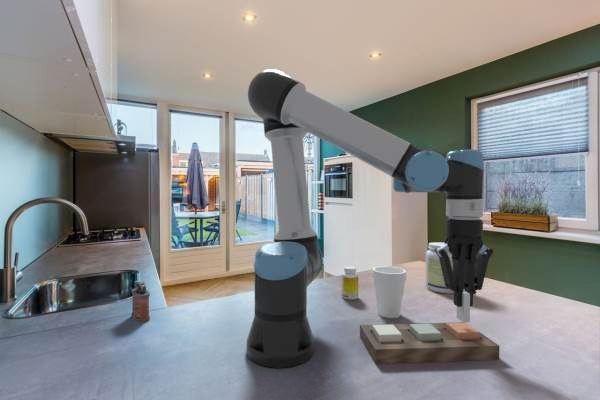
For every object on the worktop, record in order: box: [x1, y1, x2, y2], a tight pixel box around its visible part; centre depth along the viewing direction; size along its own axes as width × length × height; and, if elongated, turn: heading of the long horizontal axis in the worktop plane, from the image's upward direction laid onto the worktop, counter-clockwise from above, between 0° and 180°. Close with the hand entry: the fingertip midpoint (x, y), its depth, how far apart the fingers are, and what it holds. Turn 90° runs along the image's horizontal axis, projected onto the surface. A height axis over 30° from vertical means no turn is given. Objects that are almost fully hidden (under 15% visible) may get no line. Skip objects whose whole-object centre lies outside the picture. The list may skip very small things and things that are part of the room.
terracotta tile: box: [445, 322, 481, 340], centre depth 71 cm, size 5×5×2 cm
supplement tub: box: [425, 241, 454, 295], centre depth 114 cm, size 12×12×17 cm
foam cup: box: [372, 265, 407, 319], centre depth 90 cm, size 10×9×13 cm
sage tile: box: [409, 323, 441, 341], centre depth 70 cm, size 5×5×2 cm
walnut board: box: [359, 321, 500, 365], centre depth 70 cm, size 27×12×3 cm, turn 94°
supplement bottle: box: [341, 265, 359, 300], centre depth 104 cm, size 6×6×10 cm
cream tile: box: [371, 324, 402, 342], centre depth 69 cm, size 5×5×2 cm
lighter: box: [131, 280, 151, 324], centre depth 86 cm, size 8×3×10 cm, turn 47°
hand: (463, 319), depth 71 cm, fingers closed
